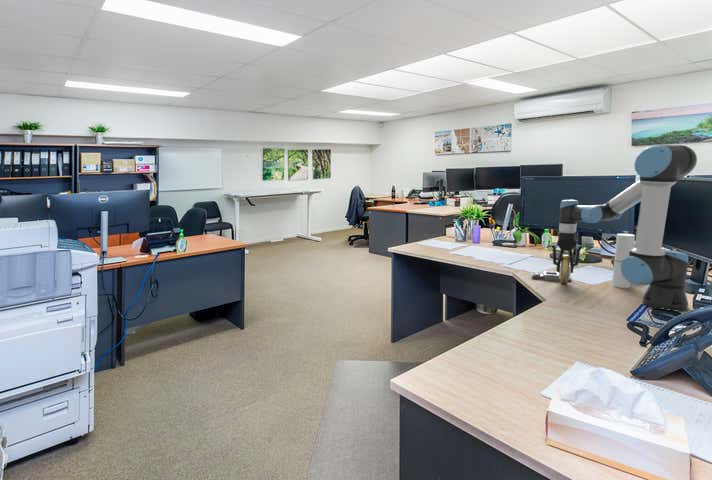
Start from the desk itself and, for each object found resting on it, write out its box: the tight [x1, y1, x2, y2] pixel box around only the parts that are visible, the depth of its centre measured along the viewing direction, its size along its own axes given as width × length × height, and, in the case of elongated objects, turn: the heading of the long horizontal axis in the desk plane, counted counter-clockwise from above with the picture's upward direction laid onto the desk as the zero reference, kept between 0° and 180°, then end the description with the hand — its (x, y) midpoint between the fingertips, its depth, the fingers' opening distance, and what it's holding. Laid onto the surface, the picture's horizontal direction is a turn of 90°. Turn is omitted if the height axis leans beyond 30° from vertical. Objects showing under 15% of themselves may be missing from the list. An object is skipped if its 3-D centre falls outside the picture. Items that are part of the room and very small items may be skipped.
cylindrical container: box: [611, 233, 636, 289], centre depth 197 cm, size 7×7×25 cm
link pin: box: [559, 254, 570, 285], centre depth 203 cm, size 4×4×14 cm
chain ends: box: [531, 270, 572, 283], centre depth 213 cm, size 18×7×3 cm, turn 70°
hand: (564, 278), depth 204 cm, fingers closed on link pin, 3 cm apart
